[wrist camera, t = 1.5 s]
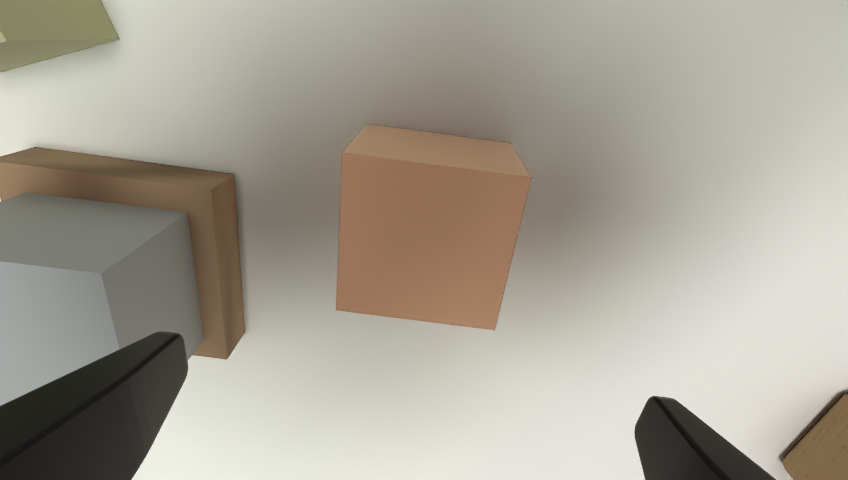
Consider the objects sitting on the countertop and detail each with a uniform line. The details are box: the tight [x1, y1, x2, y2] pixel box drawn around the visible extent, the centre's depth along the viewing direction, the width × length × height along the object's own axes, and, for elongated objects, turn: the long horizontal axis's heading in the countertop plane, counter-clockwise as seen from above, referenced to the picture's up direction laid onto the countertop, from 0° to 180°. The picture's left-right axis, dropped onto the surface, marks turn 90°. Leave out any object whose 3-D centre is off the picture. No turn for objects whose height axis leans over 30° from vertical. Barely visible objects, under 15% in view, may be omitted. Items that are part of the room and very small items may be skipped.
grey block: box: [0, 192, 204, 406], centre depth 15 cm, size 6×6×4 cm
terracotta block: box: [336, 124, 531, 330], centre depth 16 cm, size 6×6×4 cm
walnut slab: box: [0, 147, 245, 359], centre depth 18 cm, size 8×8×2 cm
